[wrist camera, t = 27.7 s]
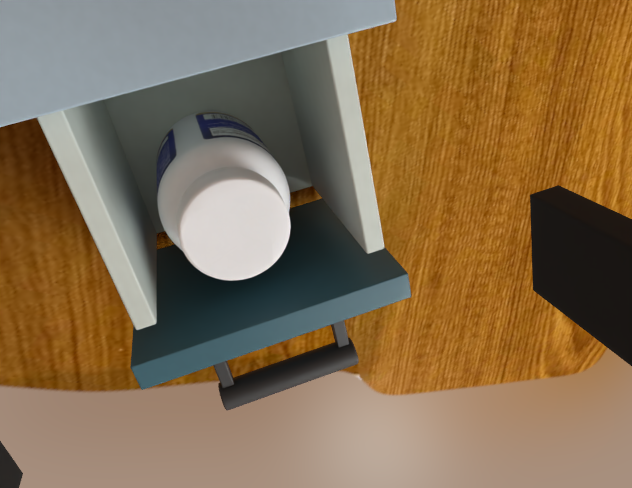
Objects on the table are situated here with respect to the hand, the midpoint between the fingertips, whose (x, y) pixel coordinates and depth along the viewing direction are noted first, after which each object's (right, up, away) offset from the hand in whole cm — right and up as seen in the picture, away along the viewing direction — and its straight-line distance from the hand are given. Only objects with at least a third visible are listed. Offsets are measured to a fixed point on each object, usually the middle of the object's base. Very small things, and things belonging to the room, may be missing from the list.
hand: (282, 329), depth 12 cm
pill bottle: (-4, +6, +15) cm, 16 cm away
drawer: (-4, +6, +16) cm, 17 cm away
